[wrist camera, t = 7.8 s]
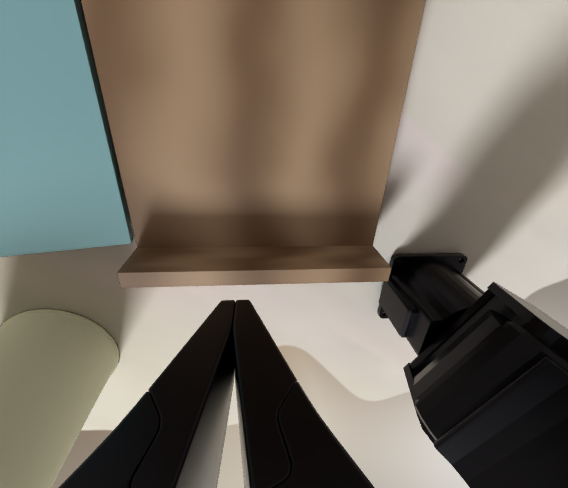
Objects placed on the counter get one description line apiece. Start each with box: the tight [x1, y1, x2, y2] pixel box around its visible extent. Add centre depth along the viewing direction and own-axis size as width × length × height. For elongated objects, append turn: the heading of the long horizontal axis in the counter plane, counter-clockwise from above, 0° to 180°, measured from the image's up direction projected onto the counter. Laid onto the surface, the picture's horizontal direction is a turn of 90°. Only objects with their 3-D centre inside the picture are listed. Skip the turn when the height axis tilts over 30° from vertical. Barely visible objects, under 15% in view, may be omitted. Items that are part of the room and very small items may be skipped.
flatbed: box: [81, 0, 426, 288], centre depth 14 cm, size 16×20×5 cm
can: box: [0, 309, 119, 488], centre depth 18 cm, size 9×9×12 cm
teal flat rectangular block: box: [0, 0, 134, 257], centre depth 13 cm, size 2×17×8 cm
